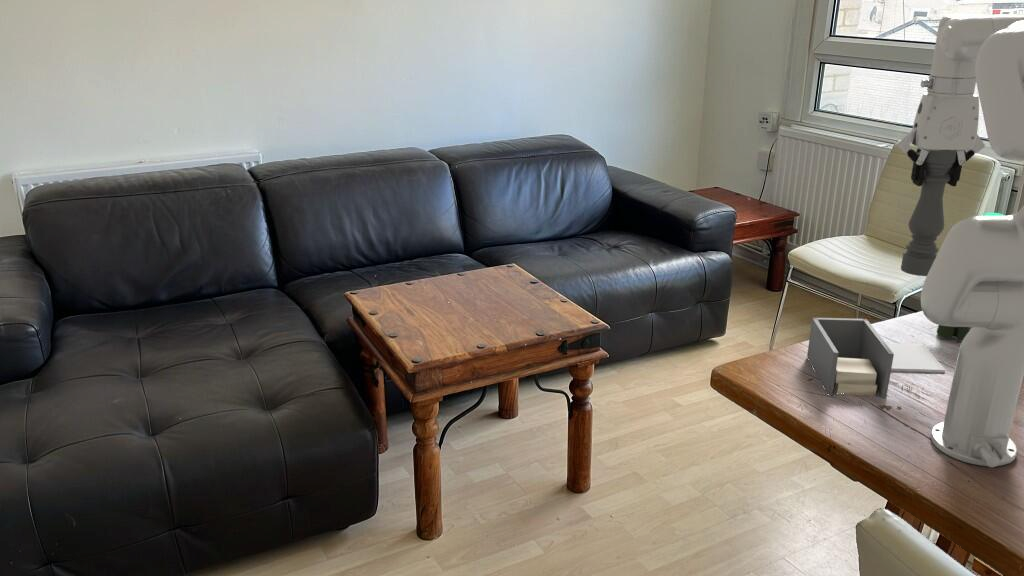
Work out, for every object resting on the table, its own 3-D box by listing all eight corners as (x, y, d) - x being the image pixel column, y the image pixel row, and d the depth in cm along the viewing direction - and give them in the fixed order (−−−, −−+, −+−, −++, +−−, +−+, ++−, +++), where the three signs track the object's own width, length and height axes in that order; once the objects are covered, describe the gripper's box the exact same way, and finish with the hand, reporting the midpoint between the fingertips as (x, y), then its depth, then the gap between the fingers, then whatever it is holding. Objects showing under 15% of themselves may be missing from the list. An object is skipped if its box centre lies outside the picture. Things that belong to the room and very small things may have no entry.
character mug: (925, 340, 174) (936, 284, 170) (922, 327, 180) (933, 272, 176) (982, 347, 171) (995, 290, 166) (978, 334, 177) (990, 278, 172)
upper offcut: (874, 385, 152) (876, 373, 151) (835, 383, 153) (837, 371, 152) (867, 370, 157) (869, 359, 156) (829, 368, 158) (831, 356, 158)
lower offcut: (875, 397, 153) (877, 385, 152) (836, 396, 153) (838, 384, 152) (864, 382, 158) (866, 370, 157) (827, 381, 159) (829, 369, 158)
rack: (886, 397, 152) (893, 354, 148) (827, 395, 153) (834, 352, 149) (860, 359, 166) (866, 318, 163) (807, 357, 167) (812, 317, 164)
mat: (944, 372, 160) (945, 369, 160) (881, 370, 162) (882, 368, 161) (922, 346, 172) (922, 343, 171) (863, 344, 173) (863, 342, 172)
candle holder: (941, 276, 157) (966, 147, 148) (908, 276, 157) (931, 147, 148) (926, 265, 162) (949, 140, 153) (895, 265, 163) (916, 140, 153)
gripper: (909, 89, 144) (893, 189, 151) (1011, 89, 142) (990, 190, 149) (895, 83, 151) (880, 179, 158) (991, 83, 149) (972, 180, 156)
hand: (934, 183), depth 153 cm, fingers closed on candle holder, 5 cm apart
